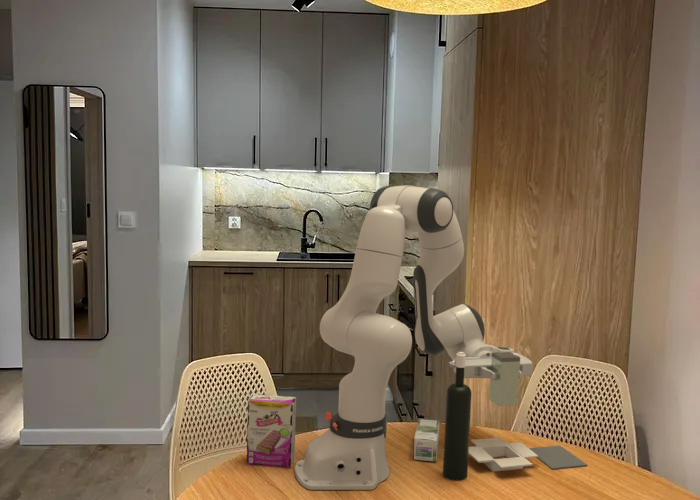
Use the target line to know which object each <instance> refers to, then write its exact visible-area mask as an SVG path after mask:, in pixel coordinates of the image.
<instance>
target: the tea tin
mask: <svg viewBox="0 0 700 500" xmlns="http://www.w3.org/2000/svg"><path fill="white" fill-rule="evenodd" d="M519 369H520V357H519V356H517V355H515V354H513V353H511V352H495V353H492V361H491V371H496V372H497V373H498V380H491V379H490V378H489V381H490V382H489V393H488V399H489V401H491V402H492V403H493V404H495V405H496V406H497V407H506V406H507V407H508V406H518V400H519V399H518V397H519V384H520V379H519Z"/></svg>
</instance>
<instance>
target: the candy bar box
mask: <svg viewBox="0 0 700 500" xmlns="http://www.w3.org/2000/svg"><path fill="white" fill-rule="evenodd" d="M296 415H297V397H296V396H289V395H287V396H285V395H273V394H272V395H271V394H260V393H259V394H258V393H252V394H251V396H250V397H248V400H247V423H246V424H247V428H246V429H247V430H246V431H247V433H246V465H250V466H251V465H253V466H263V467H275V468H276V467H277V468H289V469H291V467H292V465H293V464H294V461H295V454H296V453H295V452H296V449H295V448H296V422H297V421H296V418H297V416H296Z"/></svg>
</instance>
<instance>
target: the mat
mask: <svg viewBox="0 0 700 500" xmlns="http://www.w3.org/2000/svg"><path fill="white" fill-rule="evenodd" d="M528 448H529V449H530V450H531V451H533V452H534V453H535V454H537V455H538V457H536V459H537V460H539V461H541V462H542V463H543V464H544V465H545V466H546V467H548V468H549V469H550V470H552V471H553V470H563V469H572V468H573V469H574V468H583V467H588V464H587V463H586V462H584V461H583V460H581V458H579V457H578V456H576V455H574V454H573V453H571V452H570V451H569V450H567V449H566V448H564V447H563V446H562V445H549V446H540V447H539V446H538V447H528Z"/></svg>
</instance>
